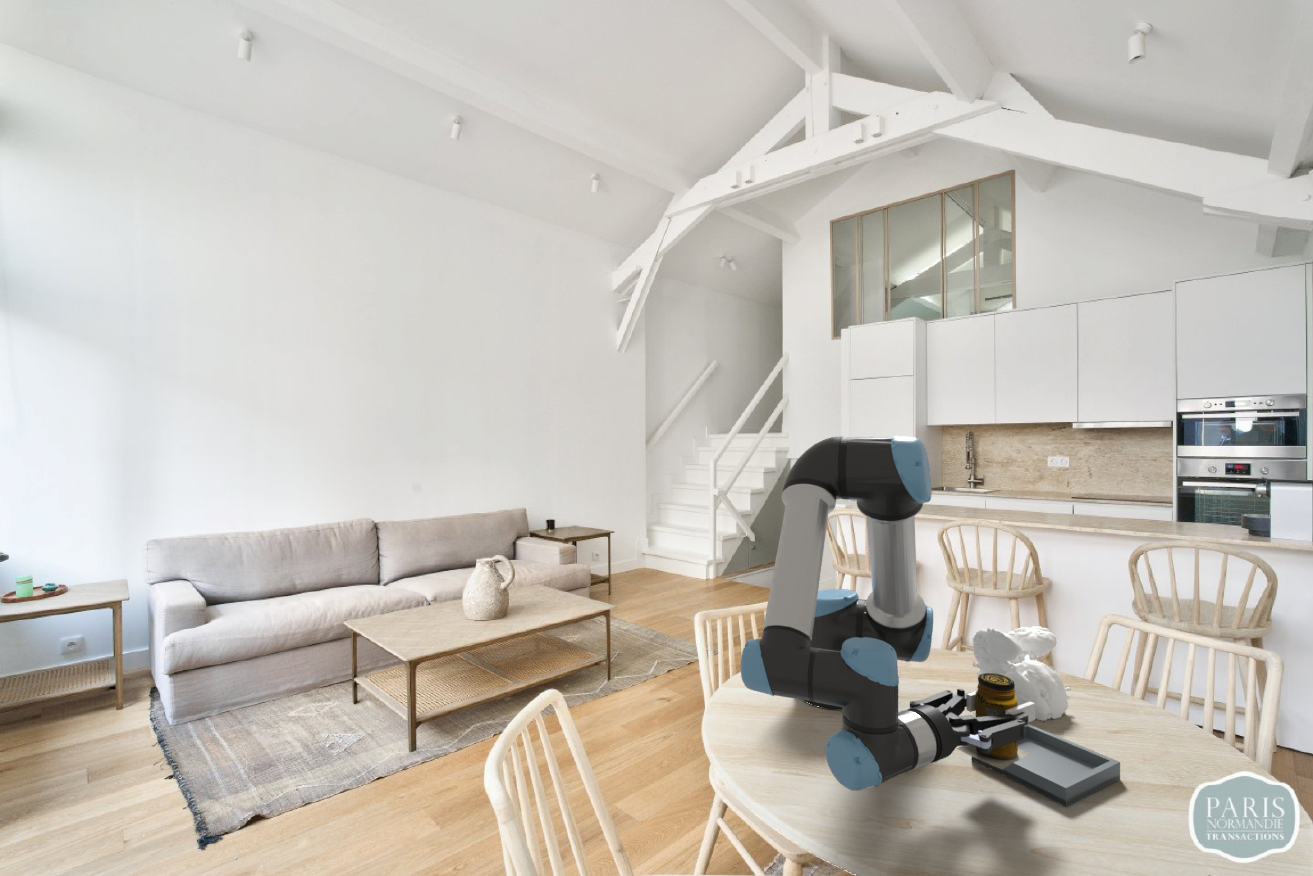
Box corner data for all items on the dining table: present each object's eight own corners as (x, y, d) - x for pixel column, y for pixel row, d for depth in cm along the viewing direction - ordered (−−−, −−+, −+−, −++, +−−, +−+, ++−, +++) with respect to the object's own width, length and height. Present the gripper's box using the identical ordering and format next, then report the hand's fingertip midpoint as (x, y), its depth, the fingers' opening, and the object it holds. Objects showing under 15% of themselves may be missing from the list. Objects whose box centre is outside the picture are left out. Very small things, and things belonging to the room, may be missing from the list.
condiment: (1029, 754, 99) (1028, 680, 98) (1002, 770, 94) (1001, 693, 94) (984, 735, 105) (983, 666, 105) (956, 750, 100) (956, 678, 100)
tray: (971, 759, 109) (971, 742, 109) (1025, 738, 117) (1025, 722, 117) (1065, 807, 95) (1065, 788, 95) (1120, 779, 103) (1120, 762, 103)
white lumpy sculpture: (1060, 691, 116) (981, 613, 132) (1005, 754, 126) (937, 674, 141) (1117, 679, 125) (1036, 606, 140) (1061, 739, 134) (991, 665, 149)
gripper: (868, 733, 99) (960, 702, 110) (976, 795, 82) (1073, 751, 93) (867, 687, 99) (960, 661, 110) (976, 740, 82) (1073, 702, 93)
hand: (1012, 702), depth 102 cm, fingers closed on condiment, 6 cm apart
